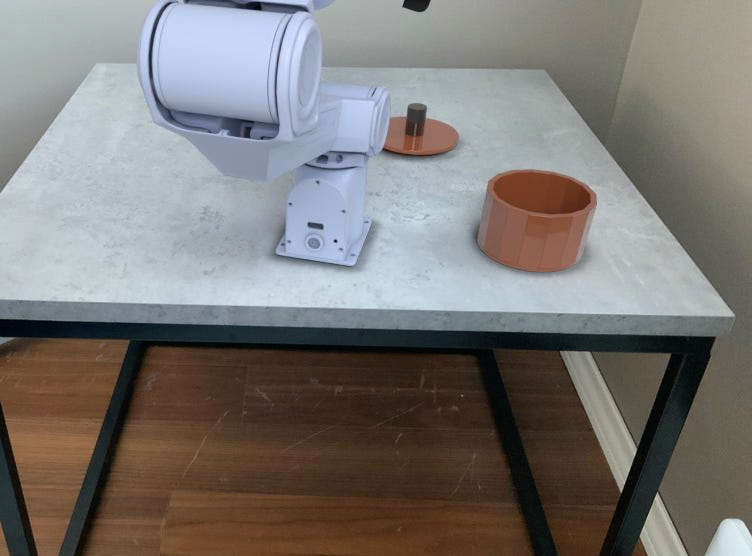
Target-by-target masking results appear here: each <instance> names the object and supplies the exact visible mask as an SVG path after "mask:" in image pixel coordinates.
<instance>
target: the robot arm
mask: <svg viewBox="0 0 752 556" xmlns="http://www.w3.org/2000/svg"><path fill="white" fill-rule="evenodd" d="M335 1H336V0H182V2H179V0H157V1H156V2H155V3H154V4H152V6H151V8H150V9H149V10H148V13H147V14H146V15H145V17H144V19H143V22H142V24H141V26H140V29H139V34H138V38H137V43H136V70H137V72H136V73H137V77H138V82H139V84H140V87H141V89H142V92H143V95H144V99H145V103H146V105H147V107H148V110H149V113H150V116H151V119H152V122H153V124H155V125H157V126H159V127H160V128H163V129H165V130H168V131H170V132H171V133H174V134H176V135H178V136H180V137H182V138H184V139H185V140H187V141H188V142H189V143H191V145H193V146H194V148H195V149H197V150H198V152H199V153H201V155H203V156H204V158H205V159H207V160H208V162H210V163H211V164H212V165H213V166H214V167H215V168H216V169H217V171H219V172H220V174H222V175H223V176H225V177H230V178H236V179H242V180H248V181H256V182H261V183H263V182H264V183H270V182H272V181H273V180H276V179H278V178H280V177H281V176H284V175H285V174H287V173H289V172H291V171H292V184H291V186H290V188H289V190H288V193H287V195H286V201H285V232H284V234H283V236H282V237H281V239H280V240H279V243H278V245H277V246H276V248H275V254H276V255H279V256H283V257H289V258H294V259H295V258H296V259H301V260H308V261H316V262H321V263H329V264H335V265H341V266H347V267H353V266H355V265H356V263H357V261H358V258H359V256H360V255H361V254H360V253H361V251H362V248H363V247H364V244H365V241H366V238H367V236H368V234H369V231H370V229H371V227H372V222H373V219H371V218H370V217H365V205H366V195H367V194H366V193H367V183H368V171H369V159H370V158H372V159H373V158H375V157H377V155H379V154H380V153H381V152H382V151H383V149H384V148H383V146H384V143H385V140H386V136H387V132H388V127H389V120H390V118H391V111H392V110H391V109H392V99H391V94H390V92H389V91H388V89H387V87H386V86H384V85H378V86H377V87H376V86H369V85H361V84H352V83H343V82H336V81H327V80H321V77H322V72H323V71H322V69H323V52H324V51H323V39H322V38H323V37H322V33H321V29H320V27H319V25H318V24H317V18H316V17H317V16H316V11H319V10H323V9H325V8H327V7H329V6H331V5H332V4H333V3H334V2H335ZM431 1H432V0H403V3H402V6H401V8H404V9H406V10H409V11H413V12H416V13H424V12H425V11H426V10H427V9H428V8H429V7H430V4H431Z"/></svg>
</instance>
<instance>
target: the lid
mask: <svg viewBox="0 0 752 556" xmlns="http://www.w3.org/2000/svg"><path fill="white" fill-rule="evenodd" d="M427 112H428V106H427V105H426V104H424V103H421V102H412V103H409V104H408V105H407V109H406V115H405V116H392V117H390V120H389V127H388V132H387V136H386V140H385V143H384V146H383V149H386V150H387V151H390V152H394V153H399V154H400V153H401V154H406V155H416V156H417V155H418V156H419V155H422V156H423V155H435V154H441V153H444V152H447V151H450V150H452V149H453V148H455V147H456V146H457V145H458V144H459V141H460V134H459V132H458V131H457V129H455V127H453V126H451V125H450V124H448V123H446V122H443V121H440V120H437V119H434V118H429V117H427Z"/></svg>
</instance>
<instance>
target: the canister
mask: <svg viewBox="0 0 752 556" xmlns="http://www.w3.org/2000/svg"><path fill="white" fill-rule="evenodd" d="M597 199H598V198H597V193H596V192H595V191H594V190H593V189H592V188H591V187H590V186H589V185H588V184H586V183H584V182H583V181H580V180H578V179H577V178H575V177H573V176H570V175H566V174H563V173H559V172H556V171H551V170H542V169H534V168H528V169H525V168H523V169H510V170H508V171H503V172H500V173H497V174H495V175H494V176H493V177H491V178H490V179H489V180H488V181H487V186H486V191H485V196H484V201H483V205H482V212H481V216H480V223H479V227H478V234H477V238H476V239H477V245H478V247H479V249H480V250H481V251H482V252H483V254H484V255H486V256H487V257H488V258H490V259H491V260H493V261H495V262H497V263H499V264H501V265H503V266H506V267H510V268H512V269H516V270H519V271H527V272H532V273H533V272H534V273H551V272H558V271H563V270H567V269H569V268H571V267H573V266H575V265H576V264H577V263H579V261H580V259H581V258H582V256H583V254H584V251H585V248H586V245H587V240H588V237H589V234H590V231H591V227H592V223H593V220H594V216H595V213H596V209H597V207H598V200H597Z"/></svg>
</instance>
